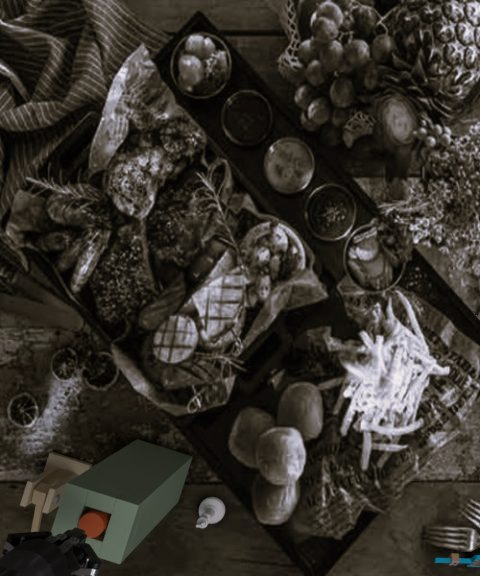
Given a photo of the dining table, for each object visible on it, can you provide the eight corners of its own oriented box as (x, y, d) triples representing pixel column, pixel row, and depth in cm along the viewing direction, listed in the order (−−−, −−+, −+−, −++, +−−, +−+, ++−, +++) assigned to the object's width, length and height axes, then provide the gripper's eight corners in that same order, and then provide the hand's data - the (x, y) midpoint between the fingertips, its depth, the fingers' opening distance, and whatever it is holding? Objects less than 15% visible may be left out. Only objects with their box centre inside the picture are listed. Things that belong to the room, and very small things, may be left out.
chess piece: (195, 501, 144) (182, 517, 134) (220, 493, 144) (208, 508, 134) (203, 526, 144) (190, 543, 134) (228, 518, 144) (217, 535, 134)
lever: (49, 544, 138) (42, 552, 136) (22, 535, 138) (15, 544, 136) (60, 488, 134) (53, 496, 132) (33, 480, 134) (25, 487, 132)
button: (83, 527, 113) (75, 533, 110) (90, 504, 113) (82, 509, 110) (106, 534, 113) (99, 541, 110) (113, 511, 113) (106, 517, 110)
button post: (122, 484, 144) (47, 542, 111) (137, 439, 144) (66, 482, 111) (178, 502, 144) (119, 564, 111) (192, 456, 144) (138, 505, 111)
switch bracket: (78, 509, 144) (51, 529, 132) (37, 497, 143) (7, 515, 132) (92, 464, 144) (67, 479, 132) (52, 451, 144) (23, 465, 132)
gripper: (85, 569, 88) (132, 523, 106) (-25, 535, 88) (41, 495, 105) (65, 631, 88) (116, 575, 105) (-45, 597, 88) (24, 547, 105)
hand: (78, 535), depth 105 cm, fingers closed
